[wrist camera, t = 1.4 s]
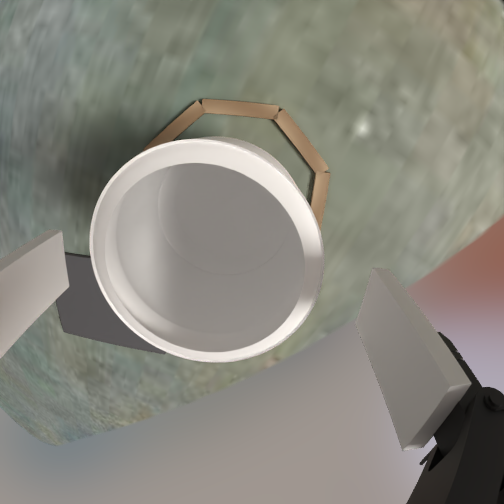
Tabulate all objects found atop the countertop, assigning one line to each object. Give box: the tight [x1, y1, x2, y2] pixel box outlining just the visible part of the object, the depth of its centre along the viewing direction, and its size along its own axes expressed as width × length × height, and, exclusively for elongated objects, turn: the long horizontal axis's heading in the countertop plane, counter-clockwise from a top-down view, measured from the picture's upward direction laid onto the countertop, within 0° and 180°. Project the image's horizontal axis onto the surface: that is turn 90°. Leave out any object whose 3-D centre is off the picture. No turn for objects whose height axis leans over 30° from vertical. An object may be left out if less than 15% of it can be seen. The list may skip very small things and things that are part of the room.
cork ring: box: [143, 99, 330, 229], centre depth 26 cm, size 16×16×1 cm
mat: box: [56, 252, 166, 354], centre depth 31 cm, size 14×11×1 cm
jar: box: [90, 136, 324, 362], centre depth 19 cm, size 11×10×15 cm
